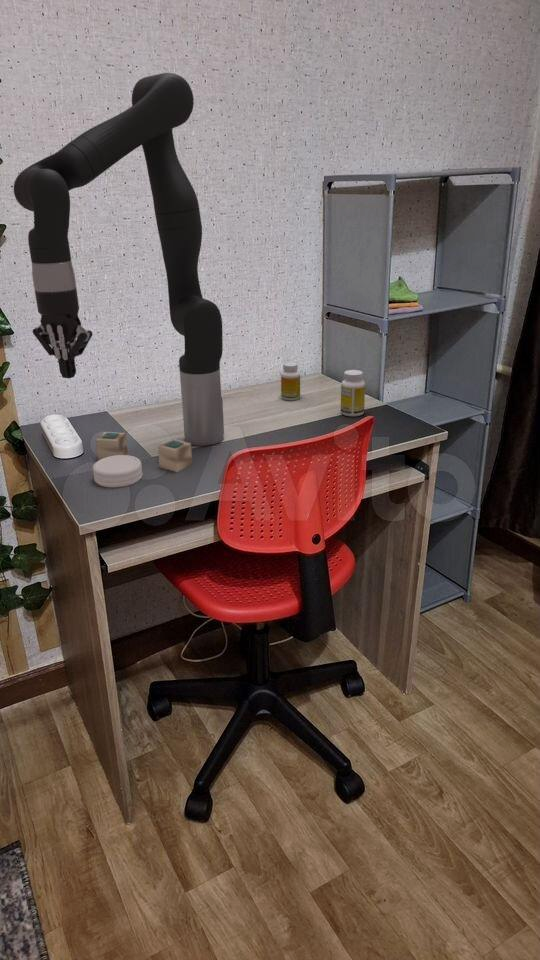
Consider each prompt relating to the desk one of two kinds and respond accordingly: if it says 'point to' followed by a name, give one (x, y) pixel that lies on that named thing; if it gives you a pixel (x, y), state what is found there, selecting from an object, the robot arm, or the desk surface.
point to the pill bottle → (352, 393)
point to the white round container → (117, 471)
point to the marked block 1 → (111, 444)
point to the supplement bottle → (290, 381)
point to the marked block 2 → (175, 455)
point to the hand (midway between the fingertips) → (68, 377)
